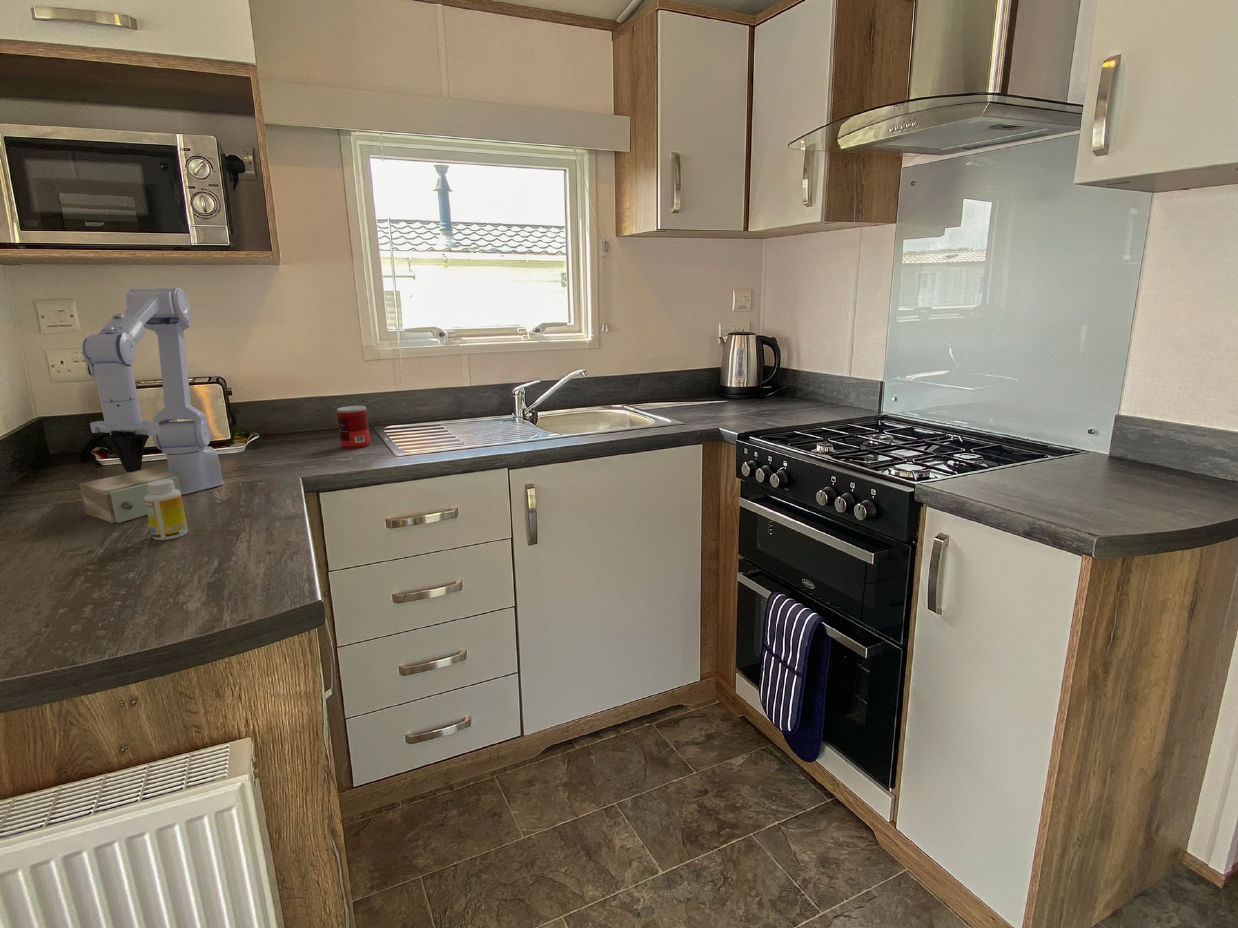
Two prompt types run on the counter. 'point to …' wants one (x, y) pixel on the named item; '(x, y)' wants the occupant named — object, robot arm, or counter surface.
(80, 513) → the counter surface
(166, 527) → the supplement bottle
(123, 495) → the door
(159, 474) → the cabinet
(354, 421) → the canned food
